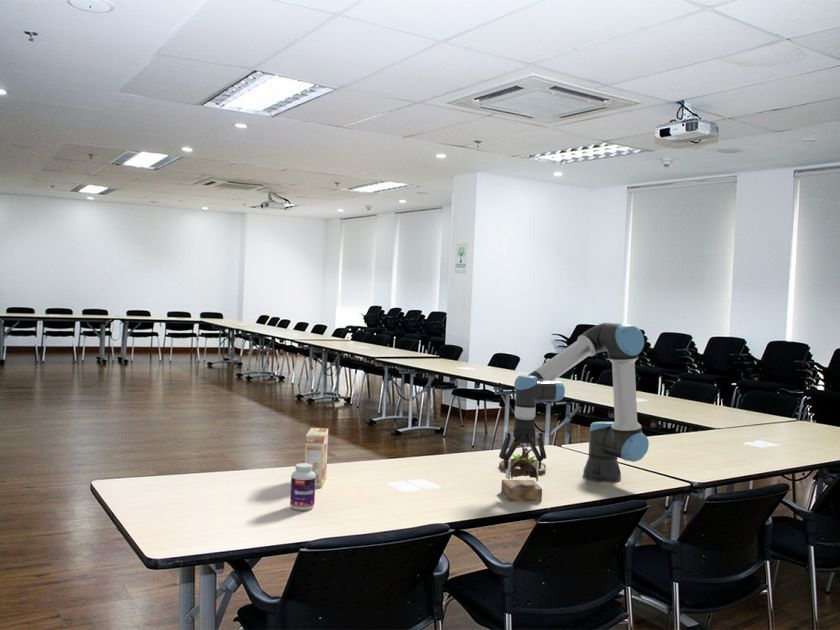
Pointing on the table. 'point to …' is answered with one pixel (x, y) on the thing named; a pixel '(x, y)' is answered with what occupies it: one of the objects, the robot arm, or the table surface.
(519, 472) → the dark brown figurine
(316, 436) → the coffeecake box
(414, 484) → the table surface
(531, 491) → the walnut block
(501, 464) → the plant
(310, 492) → the pill bottle
